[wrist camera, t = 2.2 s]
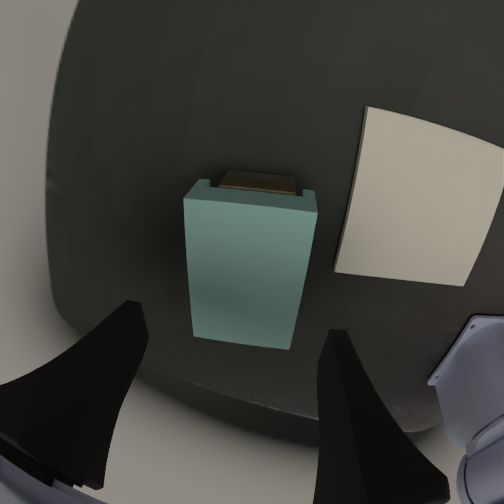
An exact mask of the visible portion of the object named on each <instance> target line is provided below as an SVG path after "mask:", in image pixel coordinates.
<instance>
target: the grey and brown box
mask: <svg viewBox="0 0 504 504" xmlns="http://www.w3.org/2000/svg"><path fill="white" fill-rule="evenodd" d="M218 188H227V189H238V190H248V191H257V192H267V193H276V194H284V195H292V196H296V183H295V177H293V176H285V175H276V174H267V173H257V172H247V171H235V170H229V171H228V173H227V174H226V175H224V177H223V178H222V180H221V181H220V183H219V184H218Z"/></svg>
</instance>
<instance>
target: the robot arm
mask: <svg viewBox="0 0 504 504" xmlns="http://www.w3.org/2000/svg"><path fill="white" fill-rule="evenodd" d="M148 340H149V334H148V331H147V327H146V323H145V319H144V314H143V310H142V306H141V303H140V302H135V301H130V300H127V301H125V302H124V303H123V304H122V305H121V306H119V307H118V308H117V309H116V310H115V311H114V312H112V313H111V314H110V315H109V316H108V317H107V318H106V319H104V320H103V321H102V322H101V323H100V324H99V325H97V326H96V327H95V328H94V329H93V330H92V331H90V332H89V333H88V334H87V335H86V336H84V337H83V338H82V339H81V340H79V341H78V342H77V343H75V344H74V345H73V346H72V347H70V348H69V349H67V350H66V351H65V352H63V353H62V354H60V355H59V356H57V357H56V358H54V359H53V360H51V361H50V362H48V363H46V364H45V365H43V366H41V367H39V368H37V369H36V370H34V371H32V372H30V373H28V374H26V375H24V376H22V377H20V378H17V379H15V380H13V381H10V382H8V383H6V384H2V385H0V504H107V503H105V502H102V501H100V500H97V499H95V498H93V497H91V496H89V495H86V494H84V493H82V492H80V491H78V490H76V489H74V488H73V485H74V484H75V485H77V486H79V487H82V486H83V485H85V486H87V487H90V488H92V489H94V490H99V489H101V488H103V486H104V477H105V470H106V463H107V458H108V453H109V448H110V443H111V439H112V435H113V431H114V428H115V424H116V421H117V417H118V414H119V411H120V408H121V406H122V403H123V401H124V398H125V396H126V394H127V392H128V390H129V387H130V385H131V383H132V381H133V379H134V376H135V374H136V372H137V370H138V367H139V365H140V363H141V361H142V359H143V356H144V353H145V350H146V346H147V343H148ZM427 383H428V385H435V388H436V392H437V396H438V400H439V404H440V408H441V412H442V417H443V421H444V426H445V430H446V433H447V435H448V437H449V439H450V440H451V442H452V443H453V444H454V445H455V446H456V447H458V448H460V449H463V450H466V452H467V453H466V454H465V455H464V456H463V458H462V459H461V462H460V465H459V468H458V472H457V480H456V483H457V491H458V495H459V498H460V500H461V502H462V504H504V316H482V315H475V316H473V317H471V319H470V320H469V322H468V323H467V325H466V326H465V328H464V330H463V331H462V333H461V334H460V336H459V337H458V339H457V340H456V342H455V343H454V345H453V346H452V348H451V349H450V351H449V352H448V354H447V355H446V356H445V358H444V359H443V361H442V362H441V363H440V365H439V366H438V367H437V369H436V370H435V371H434V373H433V374H432V375H431V377H430V378H429V379H428V381H427ZM317 397H318V415H319V434H320V444H319V445H320V446H319V459H318V469H317V478H316V487H315V493H314V500H313V504H445V503H447V502H448V501H449V500H450V490H449V483H448V479H447V476H445V475H444V474H443V473H442V472H441V471H440V470H439V469H438V468H436V467H435V466H434V465H433V464H432V463H431V462H430V461H429V460H428V459H427V458H426V457H425V456H424V455H423V454H422V453H421V452H420V451H419V450H418V449H417V447H416V446H415V445H414V444H413V443H412V442H411V440H410V439H409V438H408V437H407V436H406V434H405V433H404V432H403V431H402V429H401V428H400V427H399V425H398V424H397V423H396V421H395V420H394V419H393V417H392V416H391V414H390V413H389V411H388V410H387V408H386V407H385V405H384V403H383V402H382V400H381V399H380V397H379V395H378V393H377V392H376V390H375V388H374V386H373V385H372V383H371V381H370V379H369V377H368V375H367V373H366V371H365V369H364V368H363V365H362V363H361V361H360V359H359V357H358V355H357V353H356V351H355V349H354V346H353V344H352V342H351V340H350V337H349V335H348V333H347V331H346V330H337V329H330V330H329V333H328V336H327V339H326V341H325V344H324V347H323V350H322V353H321V355H320V358H319V361H318V372H317Z"/></svg>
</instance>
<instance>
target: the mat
mask: <svg viewBox="0 0 504 504" xmlns="http://www.w3.org/2000/svg"><path fill="white" fill-rule="evenodd" d="M503 187H504V148H501V147H499V146H497V145H494V144H492V143H489V142H487V141H484V140H482V139H479V138H476V137H474V136H471V135H468V134H466V133H463V132H460V131H457V130H454V129H451V128H448V127H445V126H442V125H439V124H436V123H432V122H429V121H426V120H422V119H419V118H415V117H411V116H408V115H404V114H400V113H396V112H392V111H388V110H384V109H379V108H375V107H370V106H365V113H364V120H363V127H362V133H361V139H360V145H359V151H358V157H357V162H356V168H355V173H354V178H353V183H352V188H351V193H350V198H349V203H348V208H347V212H346V217H345V221H344V226H343V230H342V234H341V239H340V243H339V247H338V251H337V255H336V259H335V263H334V272H339V273H347V274H356V275H365V276H374V277H383V278H392V279H401V280H410V281H419V282H428V283H438V284H447V285H456V286H464V284H465V282H466V280H467V278H468V276H469V274H470V272H471V269H472V267H473V265H474V263H475V261H476V259H477V256H478V254H479V252H480V249H481V247H482V245H483V242H484V240H485V237H486V235H487V232H488V230H489V227H490V225H491V222H492V219H493V217H494V214H495V211H496V208H497V205H498V202H499V199H500V196H501V193H502V190H503Z"/></svg>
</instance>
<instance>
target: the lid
mask: <svg viewBox="0 0 504 504" xmlns="http://www.w3.org/2000/svg"><path fill="white" fill-rule="evenodd" d="M183 199H184V221H185V239H186V255H187V269H188V282H189V293H190V304H191V315H192V325H193V334H194V336H196V337H201V338H207V339H213V340H220V341H226V342H233V343H240V344H247V345H254V346H262V347H270V348H279V349H288V350H289V349H290V344H291V340H292V336H293V332H294V327H295V323H296V319H297V314H298V310H299V305H300V300H301V296H302V291H303V286H304V282H305V277H306V272H307V267H308V262H309V257H310V252H311V247H312V241H313V236H314V231H315V225H316V220H317V214H318V211H317V205H316V198H315V192H314V191H313V190H305V189H303V194H302V197H300V196H292V195H284V194H276V193H267V192H257V191H248V190H238V189H227V188H216V187H210V180H208V179H199V180H198V181H197V183H196V184H195V185H194V186H193V187H192V189H191V190H190V191H189V192H188V193H187V195H186V196H185V197H184V198H183Z"/></svg>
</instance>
